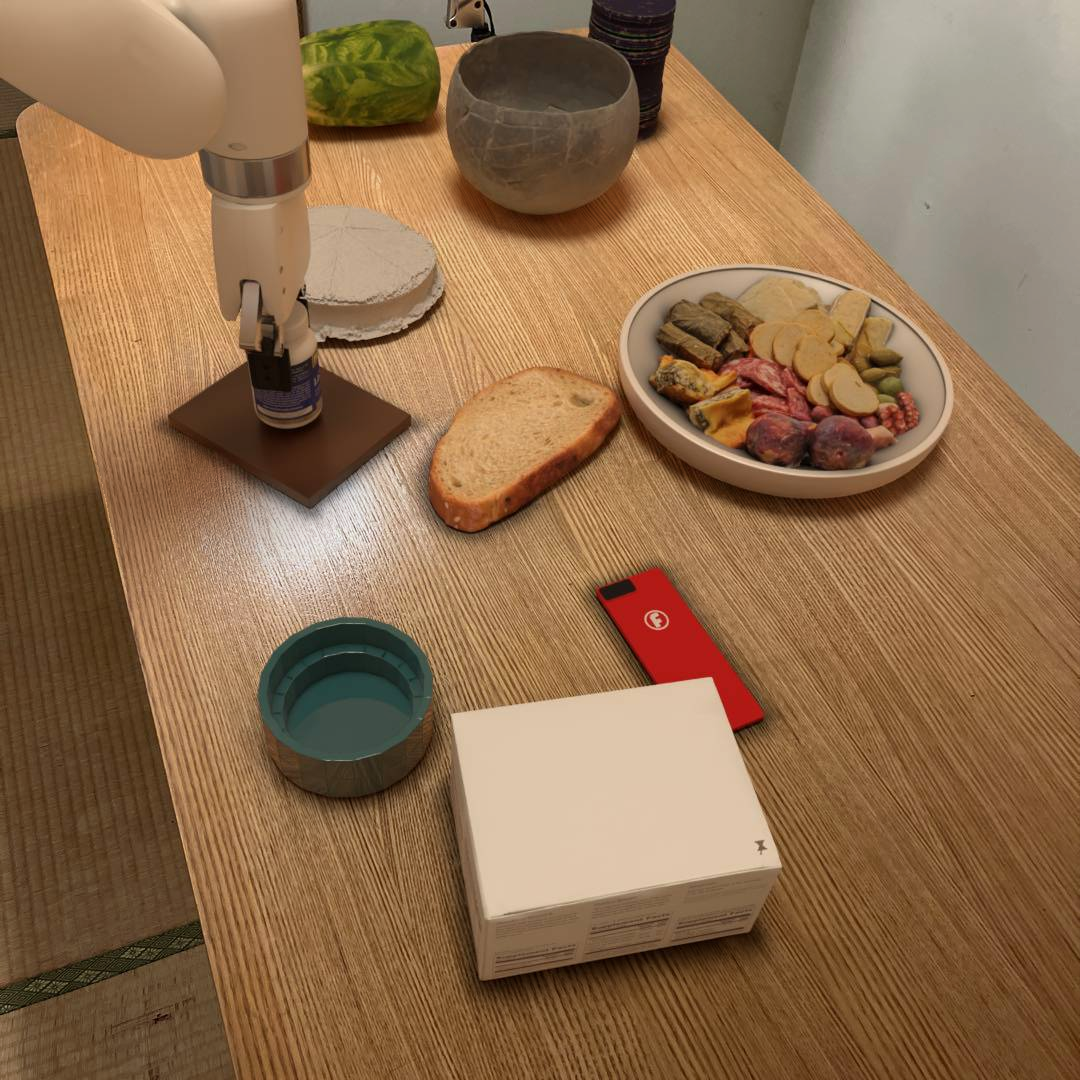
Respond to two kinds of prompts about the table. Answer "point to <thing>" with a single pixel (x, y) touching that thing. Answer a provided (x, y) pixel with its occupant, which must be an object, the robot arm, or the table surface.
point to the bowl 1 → (542, 119)
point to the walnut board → (292, 433)
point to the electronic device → (674, 641)
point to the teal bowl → (347, 706)
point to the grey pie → (366, 273)
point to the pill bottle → (293, 376)
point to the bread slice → (517, 443)
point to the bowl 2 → (783, 380)
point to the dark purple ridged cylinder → (638, 46)
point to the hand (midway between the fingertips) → (282, 361)
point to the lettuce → (370, 74)
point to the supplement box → (605, 826)
